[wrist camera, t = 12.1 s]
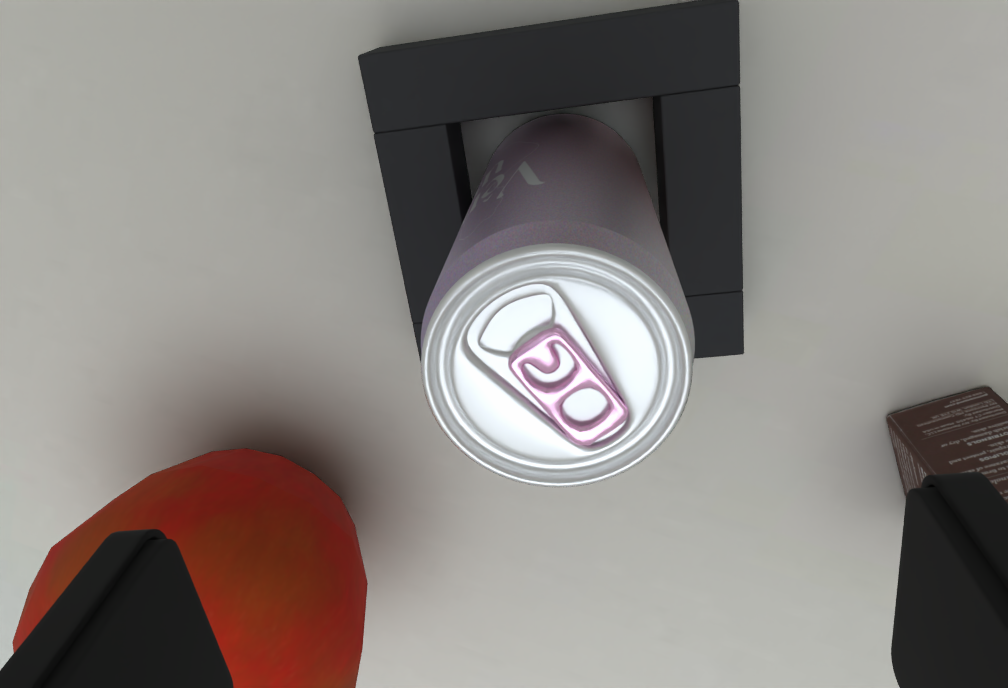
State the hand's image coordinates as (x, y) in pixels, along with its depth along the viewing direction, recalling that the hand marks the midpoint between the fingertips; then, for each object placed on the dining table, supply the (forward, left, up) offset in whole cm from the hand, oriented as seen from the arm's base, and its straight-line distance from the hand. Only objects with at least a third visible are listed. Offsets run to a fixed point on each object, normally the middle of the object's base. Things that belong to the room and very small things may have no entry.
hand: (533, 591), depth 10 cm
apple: (+13, -15, -22) cm, 30 cm away
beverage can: (0, 0, -22) cm, 22 cm away
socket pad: (0, 0, -22) cm, 22 cm away
